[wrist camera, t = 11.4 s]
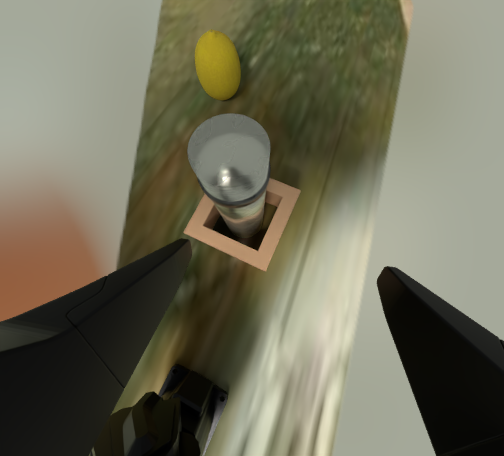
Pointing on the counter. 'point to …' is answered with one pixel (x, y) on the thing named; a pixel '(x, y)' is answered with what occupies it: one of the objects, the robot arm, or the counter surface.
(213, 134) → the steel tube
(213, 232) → the terracotta collar
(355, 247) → the counter surface
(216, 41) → the lemon
